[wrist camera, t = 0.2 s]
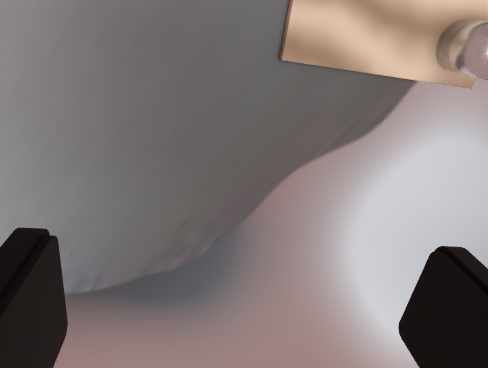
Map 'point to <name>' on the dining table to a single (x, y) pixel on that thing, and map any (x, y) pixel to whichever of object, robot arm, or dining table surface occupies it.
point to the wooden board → (377, 36)
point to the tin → (465, 48)
